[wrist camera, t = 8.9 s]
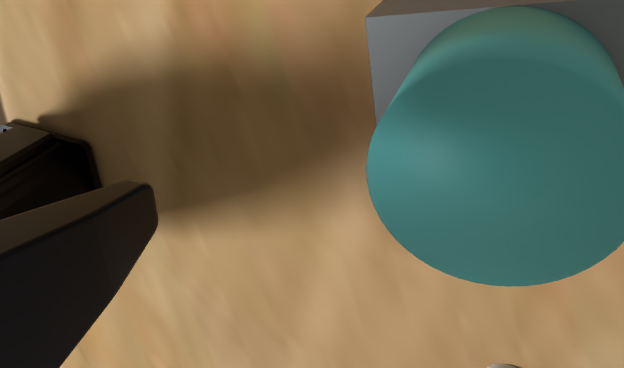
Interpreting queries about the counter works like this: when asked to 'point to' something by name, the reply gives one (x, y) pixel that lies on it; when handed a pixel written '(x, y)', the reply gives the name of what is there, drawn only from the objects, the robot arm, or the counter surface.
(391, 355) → the counter surface
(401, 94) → the teal round block
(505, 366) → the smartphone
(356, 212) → the counter surface
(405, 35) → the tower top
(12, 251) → the robot arm
